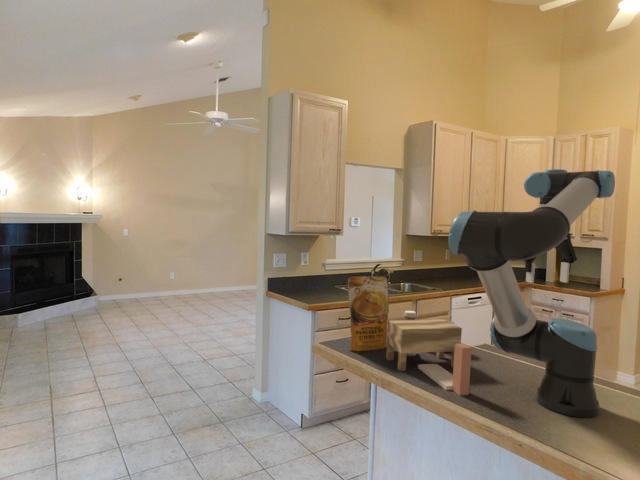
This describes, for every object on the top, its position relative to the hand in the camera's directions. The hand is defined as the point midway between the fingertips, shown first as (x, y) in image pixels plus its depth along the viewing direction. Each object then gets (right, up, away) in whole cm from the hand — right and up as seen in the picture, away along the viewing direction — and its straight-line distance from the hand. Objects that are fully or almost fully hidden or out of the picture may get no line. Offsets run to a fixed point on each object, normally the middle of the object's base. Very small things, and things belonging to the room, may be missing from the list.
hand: (547, 282), depth 135 cm
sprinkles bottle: (-39, -29, +31) cm, 57 cm away
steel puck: (-42, -29, +19) cm, 54 cm away
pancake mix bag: (-57, -28, +23) cm, 68 cm away
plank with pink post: (-36, -30, -5) cm, 47 cm away
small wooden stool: (-39, -30, +9) cm, 50 cm away
